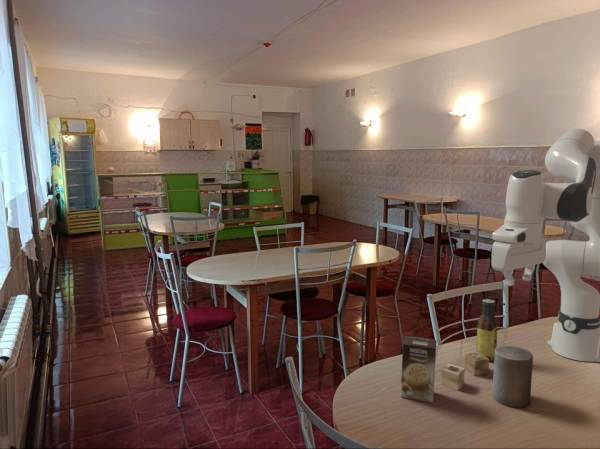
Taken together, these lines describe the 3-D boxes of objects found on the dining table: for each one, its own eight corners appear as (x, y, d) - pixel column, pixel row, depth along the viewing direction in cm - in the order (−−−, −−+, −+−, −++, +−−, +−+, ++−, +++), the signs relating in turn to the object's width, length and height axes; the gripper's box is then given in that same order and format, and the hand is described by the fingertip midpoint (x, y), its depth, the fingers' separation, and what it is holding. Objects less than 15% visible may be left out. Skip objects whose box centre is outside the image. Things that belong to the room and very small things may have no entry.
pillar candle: (538, 404, 119) (542, 352, 117) (510, 411, 116) (514, 357, 114) (510, 387, 128) (513, 338, 126) (483, 393, 125) (486, 343, 123)
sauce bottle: (498, 362, 144) (501, 304, 141) (477, 361, 145) (481, 303, 142) (493, 354, 150) (496, 298, 147) (474, 352, 151) (477, 297, 148)
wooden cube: (478, 367, 141) (479, 351, 140) (488, 374, 136) (489, 358, 135) (464, 368, 140) (465, 353, 139) (474, 376, 135) (475, 360, 134)
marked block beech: (447, 378, 134) (448, 362, 133) (463, 384, 130) (464, 367, 130) (440, 385, 130) (441, 368, 129) (457, 390, 127) (458, 374, 126)
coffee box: (399, 397, 123) (401, 343, 121) (402, 386, 129) (403, 334, 127) (433, 403, 120) (435, 348, 118) (434, 391, 126) (436, 338, 124)
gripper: (531, 227, 124) (528, 274, 126) (488, 234, 113) (485, 285, 115) (554, 230, 119) (550, 279, 121) (511, 237, 107) (507, 291, 109)
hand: (518, 282), depth 118 cm, fingers open, 7 cm apart
